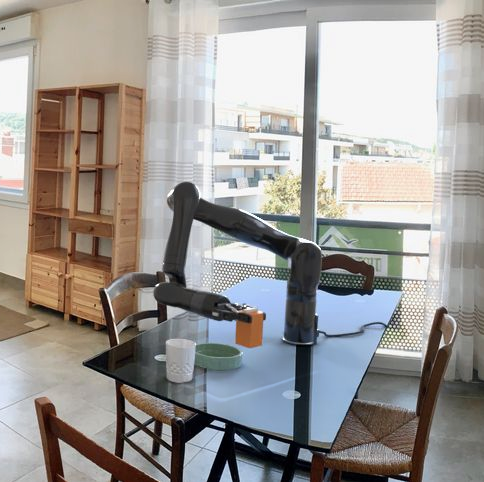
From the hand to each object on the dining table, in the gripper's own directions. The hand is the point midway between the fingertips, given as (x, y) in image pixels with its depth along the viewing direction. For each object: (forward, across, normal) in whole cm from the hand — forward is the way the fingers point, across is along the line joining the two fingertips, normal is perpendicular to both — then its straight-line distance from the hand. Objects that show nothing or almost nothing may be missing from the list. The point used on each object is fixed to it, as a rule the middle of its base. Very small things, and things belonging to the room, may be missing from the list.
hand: (258, 318), depth 165 cm
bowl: (-14, 0, +16) cm, 21 cm away
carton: (-3, 0, +8) cm, 8 cm away
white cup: (-10, -18, +17) cm, 27 cm away
